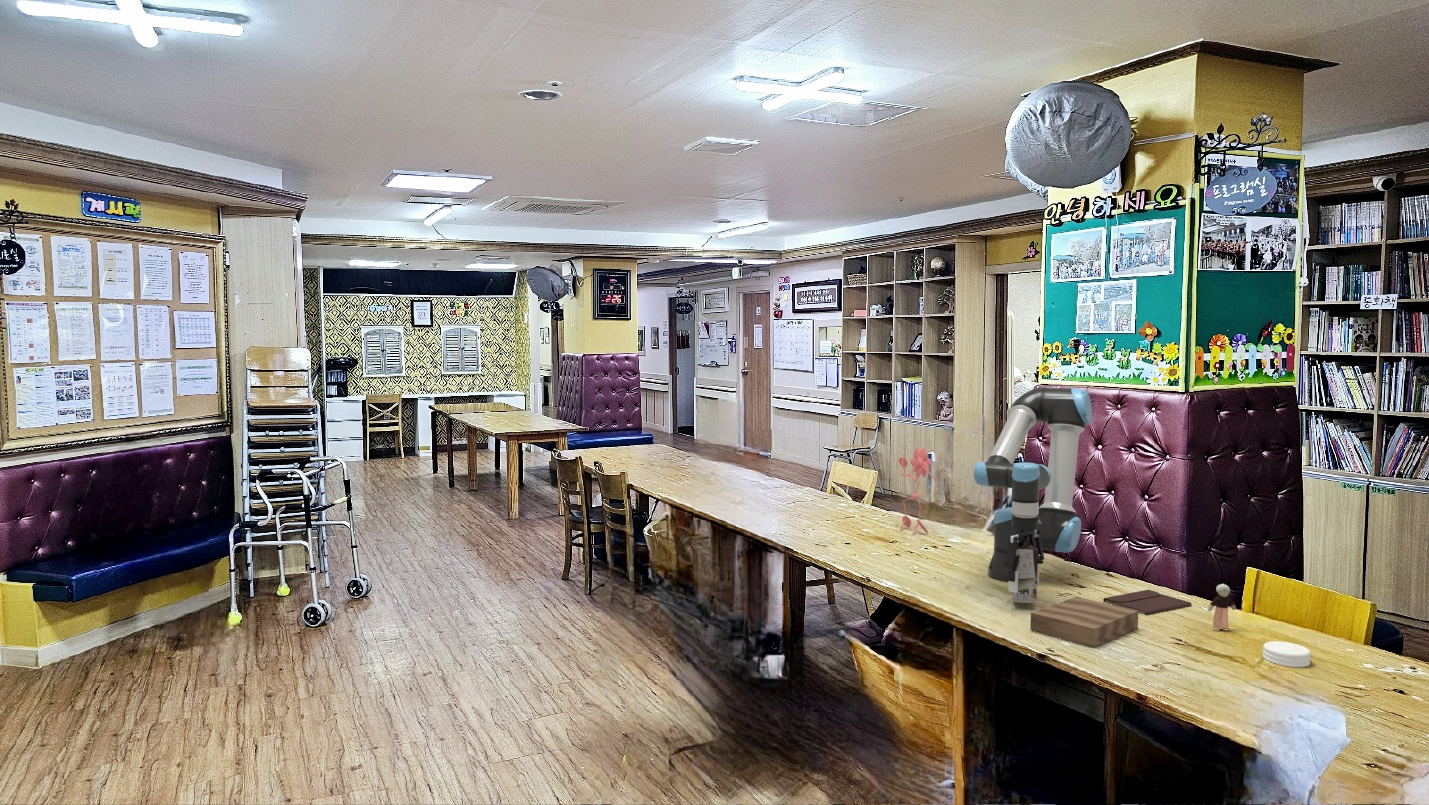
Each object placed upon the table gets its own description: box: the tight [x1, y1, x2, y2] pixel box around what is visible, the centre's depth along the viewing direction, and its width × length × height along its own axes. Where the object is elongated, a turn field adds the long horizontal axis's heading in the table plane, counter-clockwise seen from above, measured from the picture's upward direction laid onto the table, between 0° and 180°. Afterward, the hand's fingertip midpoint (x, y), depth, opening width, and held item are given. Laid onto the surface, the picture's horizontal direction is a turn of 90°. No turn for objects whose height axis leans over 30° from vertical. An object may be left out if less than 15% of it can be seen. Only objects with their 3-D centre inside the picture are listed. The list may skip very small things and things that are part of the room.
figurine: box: [898, 446, 938, 536], centre depth 373 cm, size 15×26×35 cm, turn 22°
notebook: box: [1102, 589, 1192, 616], centre depth 271 cm, size 15×20×2 cm
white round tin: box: [1262, 640, 1312, 668], centre depth 224 cm, size 10×10×4 cm
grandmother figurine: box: [1207, 583, 1237, 631], centre depth 247 cm, size 8×4×13 cm, turn 105°
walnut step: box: [1029, 596, 1139, 649], centre depth 247 cm, size 24×18×5 cm
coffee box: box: [1010, 545, 1038, 604], centre depth 269 cm, size 9×6×16 cm
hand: (1023, 588), depth 270 cm, fingers closed on coffee box, 11 cm apart
